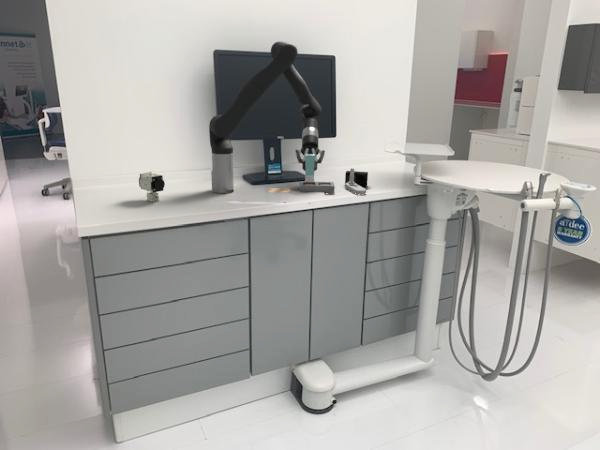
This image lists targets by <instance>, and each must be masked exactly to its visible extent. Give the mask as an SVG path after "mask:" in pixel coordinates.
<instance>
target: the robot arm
mask: <svg viewBox="0 0 600 450" xmlns="http://www.w3.org/2000/svg"><path fill="white" fill-rule="evenodd" d="M298 55H299V54H298V48H297V46H296V45H295V44H293V43H291V42H286V41H283V40H281V41H279V40H278V41H275V42H274V43H273V44H272V45H271V48H270V56H271V58H272V60H271V61H270V62H269V63H268V64H267V65H266V66H264V67H263V68H261V69H260V70H259V71H257V72H255V73H254V74H252V75H251V76H250V77H249V78H248V79H247V80H246V81H245V83H244V84H243V85H242V86H241V87H240V89H239V91H238V93H237V95H236V97H235V99H234V101H233V102H232V104H231V105H230V107H229V108H228V109H227V110H226V111H225V112H223V114H216V115H214V116H213V117H212V118H211V119H210V121H209V125H208V127H209V129H208V130H209V131H208V132H209V143H210V144H209V145H210V149H211V165H212V167H211V168H212V169H211V173H210V174H211V175H210V176H211V192H212V193H216V194H230V193H233V192H234V191H235V190H234V189H235V185H234V183H235V181H234V148H233V144H232V141H231V140H232V139H231V136H232V135H233V134H234V132H235V131H236V130H237V129H238V126H239V125H240V124H241V122H242V120H243V119H244V118H245V116H246V115H247V114H248V113H249V112H250V111H251V110H252V109H253V108H254V107H255V106H256V105H257V104H258V102H259V101H260V100H261V99H262V98H263V97H264V95H265V94H266V93H267V91H268V90H269V89H271V87H272V86H273V84H274V83H275V82H276V81H277V80H278V79H279V78H280V76H281V75H282V74H283V76H284V78H285V80H286V81H287V83H288V84H289V87H290V89H291V90H292V91H291V92H292V93H293V95H294V97H295V100H296V101H297V103H298V104H300V105H302V106H301V107H300V108H299V116H300V118H301V121H302V135H301V149H299V150H298V149H295V156H296V159H297V161H298V164H301V165H302V170H303V171H304V172H305V169H306V166H305V161H306V154H315V161H314V172H316V171H317V170H318V164H322V162H323V160H324V157H325V153H326V151H325V150H324V149H323V150H320V148H319V126H318V125H319V123H318V121H317V119H316V118H319V117H321V116H322V113H323V109H322V107H321V106H322V105H320V103H319V102H318V100H316V98H315V97H314V96H313V95H312V93H311V92H310V89H309V87H308V85H307V83H306V81H305V80H304V78H303V77H302V76H301V75H300V73H299V72H298V70H297V69H296V68H295V66H294V65H293V64H295V61H296V60H297V58H298ZM301 154H302V155H303V158H302V157H301ZM318 155H319V157H317V156H318Z"/></svg>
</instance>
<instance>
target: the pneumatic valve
mask: <svg viewBox="0 0 600 450" xmlns="http://www.w3.org/2000/svg"><path fill="white" fill-rule="evenodd" d="M165 183H166V182H165V180H164V179H163V175H161V174H157V173H154V172H152V171H149V172H145V173H139V178H138V185H139V186H138V187H140V189H141V190H144V191H147V193H146V199H147V200H146V201H147V202H150V203H154V202H158V201H160V199H159V198H160V197H159V192H162V191H164V187H165Z"/></svg>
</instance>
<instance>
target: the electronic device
mask: <svg viewBox="0 0 600 450" xmlns="http://www.w3.org/2000/svg"><path fill="white" fill-rule="evenodd" d="M349 171H350V180H349V182H348V183H346V184H345V183H344V188H345V189H346V190H347V189H348V190H347V191H349V190H350V191H352V192H353V193H352V192H351V193H352V194H354V193H356V194H365V193H366V194H367V188H363V187H361V186H359V185H358V184H356V183H355V182H354V171H355V168H352V167H351V168H350V169H349ZM350 191H349V192H350ZM356 194H355V195H356ZM366 194H365V195H366Z"/></svg>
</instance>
